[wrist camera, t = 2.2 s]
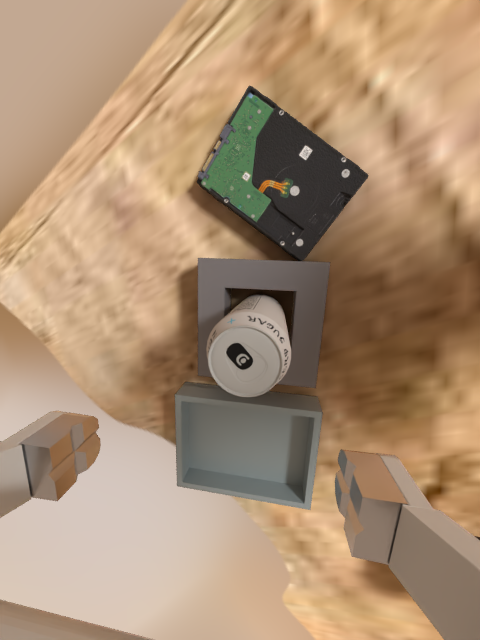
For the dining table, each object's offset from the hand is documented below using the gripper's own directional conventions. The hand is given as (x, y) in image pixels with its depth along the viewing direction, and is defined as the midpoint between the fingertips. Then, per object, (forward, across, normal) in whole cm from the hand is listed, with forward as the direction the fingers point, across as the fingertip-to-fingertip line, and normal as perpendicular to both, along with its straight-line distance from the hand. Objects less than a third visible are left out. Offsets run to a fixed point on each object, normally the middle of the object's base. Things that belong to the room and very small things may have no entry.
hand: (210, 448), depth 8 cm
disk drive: (+23, -1, -15) cm, 28 cm away
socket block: (+22, 0, 0) cm, 22 cm away
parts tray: (+22, +1, +17) cm, 28 cm away
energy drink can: (+22, 0, 0) cm, 23 cm away
